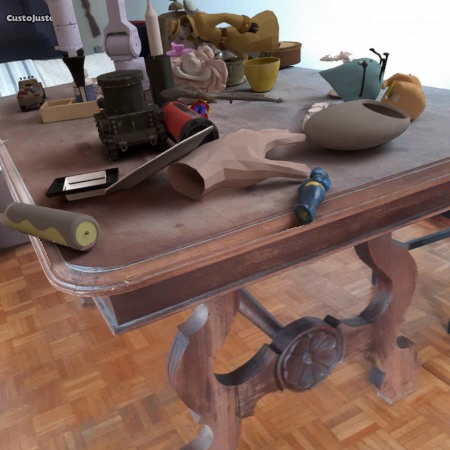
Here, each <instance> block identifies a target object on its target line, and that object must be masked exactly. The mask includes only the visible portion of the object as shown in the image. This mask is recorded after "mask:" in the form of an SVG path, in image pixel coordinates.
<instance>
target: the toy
mask: <svg viewBox="0 0 450 450" xmlns="http://www.w3.org/2000/svg"><path fill="white" fill-rule="evenodd" d="M368 50H369V51H370V52H371V53H373V54H374V55H376V56H377V57H378V58H379V61H378V60H375V59H373V58H371V57H359V58H360V59H356V60H350V61H349V62H347V63H344V64H343V63H342V64H339V65H337V66H334V67H331V68H327V69H323V70H321V71H319V72H318V74H319V76H320V77H321V78H322V79H323V80H325V82H327V83H328V85H329V86H330V87H331V88H332V89H334V90H335V92H336V93H337V94H338V96H339V97H338V98H340V99H341V100H342V101H343V102H348V101H354V100H362V99H369V100H375V101H377V99H378V97H379V95H380V93H381V90H382V88H381V86H382V84H383V82H384V77H385V72H386V68H387V64H388V59H389V56H390V53H389V52H383V53H382V55H383V56H384V57H382V55H381V54H380V53H379V52H378V51H376V49H375V48H374V47H370V48H369V49H368Z"/></svg>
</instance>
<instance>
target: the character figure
mask: <svg viewBox="0 0 450 450" xmlns="http://www.w3.org/2000/svg"><path fill="white" fill-rule="evenodd" d="M188 108H190V109H191V110H193V111H195V112H196V113H198V114H199V115H201V116H202V117H204V118H206V119H209V115H210V114H211V113H212V110H211V107H210V105H209V104H208V103H207V101H203V100H200V99H197V101H196V102H195V103H193V104H191V106H188Z"/></svg>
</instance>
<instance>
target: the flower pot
mask: <svg viewBox="0 0 450 450" xmlns="http://www.w3.org/2000/svg"><path fill="white" fill-rule="evenodd" d="M242 64H243V69H244V73H245V74H244V76H245V78H246V80H247V82H248V84H249V86H250V87H251V89H252V90H253V91H254V92H255V93H262V92H264V93H265V92H268V91H271V90H272V89H273V88H274V86H275V83H276V81H277V78H278V75H279V72H280V68H279V66H280V59H279V58H275V57H265V58H256V59H251V60H247V61H245V62H243V63H242Z"/></svg>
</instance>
